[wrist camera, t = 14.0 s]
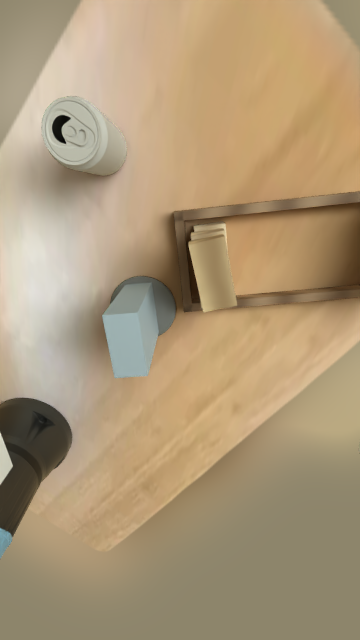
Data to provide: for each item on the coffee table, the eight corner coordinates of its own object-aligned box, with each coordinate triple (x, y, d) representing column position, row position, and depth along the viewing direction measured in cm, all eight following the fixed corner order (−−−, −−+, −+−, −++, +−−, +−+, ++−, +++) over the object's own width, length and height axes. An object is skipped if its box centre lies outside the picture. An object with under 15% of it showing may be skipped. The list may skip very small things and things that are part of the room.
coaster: (116, 340, 51) (116, 341, 51) (105, 279, 48) (104, 279, 47) (179, 335, 50) (178, 336, 50) (171, 273, 47) (171, 273, 46)
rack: (184, 307, 49) (182, 334, 39) (174, 211, 44) (169, 215, 34) (377, 291, 47) (424, 315, 37) (390, 187, 42) (447, 185, 32)
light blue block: (133, 333, 50) (114, 378, 38) (125, 284, 47) (101, 315, 35) (158, 332, 50) (147, 375, 38) (151, 282, 47) (137, 312, 35)
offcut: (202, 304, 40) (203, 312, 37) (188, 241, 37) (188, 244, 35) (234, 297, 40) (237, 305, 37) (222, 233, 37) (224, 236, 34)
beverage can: (84, 112, 40) (42, 80, 29) (134, 131, 40) (111, 106, 29) (74, 166, 42) (31, 155, 31) (120, 183, 43) (95, 178, 32)
